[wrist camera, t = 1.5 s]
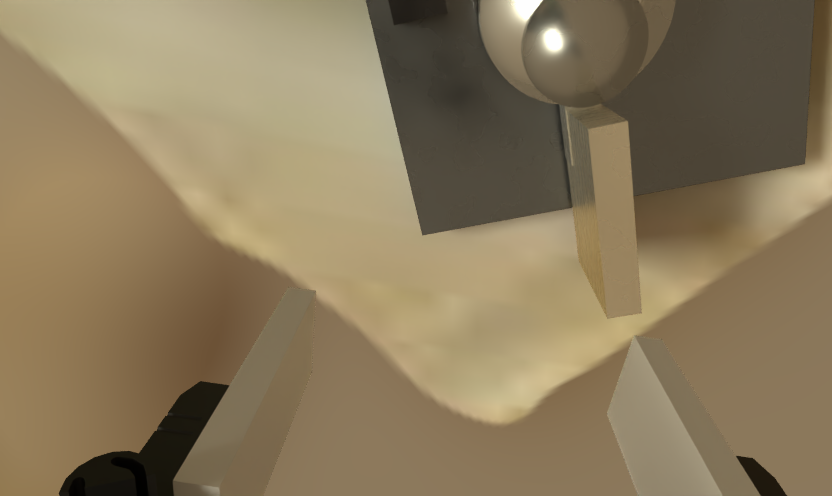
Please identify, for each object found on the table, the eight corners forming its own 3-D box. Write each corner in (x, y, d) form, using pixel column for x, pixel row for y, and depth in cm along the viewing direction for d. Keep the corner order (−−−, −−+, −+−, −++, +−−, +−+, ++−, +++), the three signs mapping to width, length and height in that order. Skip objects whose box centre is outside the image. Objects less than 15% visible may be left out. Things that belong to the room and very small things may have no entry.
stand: (335, -153, 25) (308, -190, 20) (802, -296, 22) (894, -377, 17) (424, 222, 32) (419, 257, 27) (783, 154, 29) (844, 181, 24)
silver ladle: (463, -68, 24) (465, -92, 18) (650, -119, 22) (715, -161, 17) (520, 270, 30) (534, 329, 25) (667, 245, 29) (718, 301, 23)
